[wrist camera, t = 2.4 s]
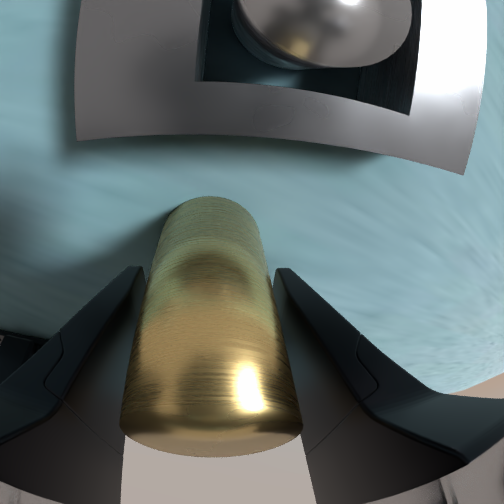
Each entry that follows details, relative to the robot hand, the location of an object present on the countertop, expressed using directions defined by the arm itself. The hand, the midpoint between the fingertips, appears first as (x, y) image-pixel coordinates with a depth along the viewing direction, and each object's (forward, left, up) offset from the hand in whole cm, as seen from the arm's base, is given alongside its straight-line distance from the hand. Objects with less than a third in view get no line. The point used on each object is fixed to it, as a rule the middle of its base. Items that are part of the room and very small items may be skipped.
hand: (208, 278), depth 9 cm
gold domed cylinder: (0, 0, -2) cm, 2 cm away
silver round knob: (+8, -2, -2) cm, 9 cm away
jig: (+11, -2, -2) cm, 11 cm away
